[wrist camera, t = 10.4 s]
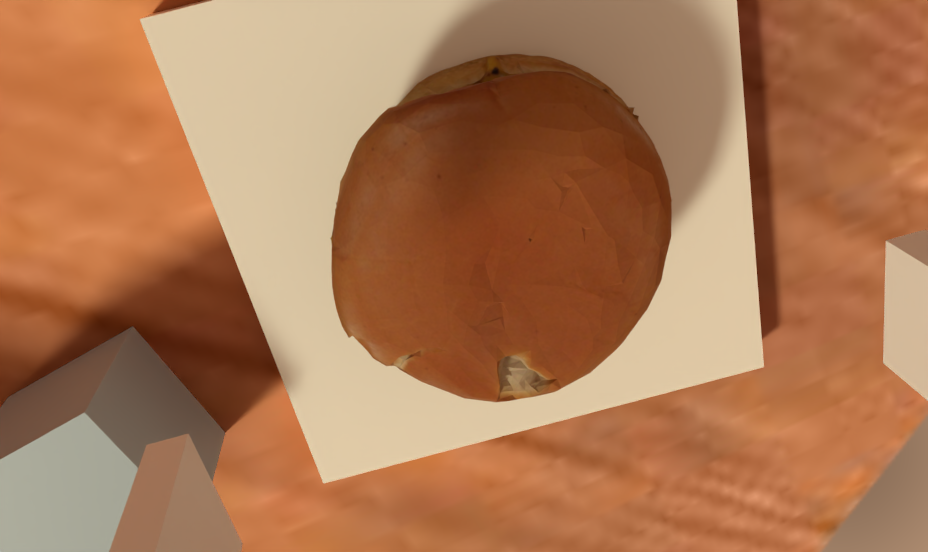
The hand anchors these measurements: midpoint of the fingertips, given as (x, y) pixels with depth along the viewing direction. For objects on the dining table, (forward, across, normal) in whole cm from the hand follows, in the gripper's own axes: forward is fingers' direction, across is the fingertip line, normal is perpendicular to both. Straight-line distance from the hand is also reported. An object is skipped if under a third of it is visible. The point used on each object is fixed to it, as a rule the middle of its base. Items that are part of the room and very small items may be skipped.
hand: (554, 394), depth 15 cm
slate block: (+12, -13, -5) cm, 18 cm away
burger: (+10, +1, 0) cm, 11 cm away
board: (+12, +1, -1) cm, 12 cm away
